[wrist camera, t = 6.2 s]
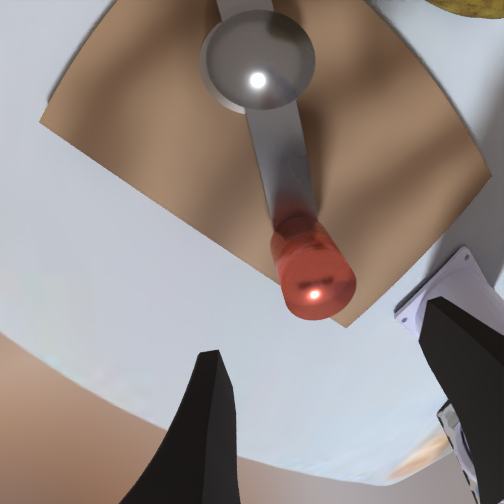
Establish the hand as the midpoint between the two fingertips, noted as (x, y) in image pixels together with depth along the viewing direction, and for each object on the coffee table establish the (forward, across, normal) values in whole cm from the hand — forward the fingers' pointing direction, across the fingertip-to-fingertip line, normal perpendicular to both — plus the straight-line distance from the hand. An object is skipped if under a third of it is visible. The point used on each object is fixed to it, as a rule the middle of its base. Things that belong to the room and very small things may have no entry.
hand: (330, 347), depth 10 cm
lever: (+8, 0, -8) cm, 11 cm away
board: (+10, -7, -10) cm, 15 cm away
